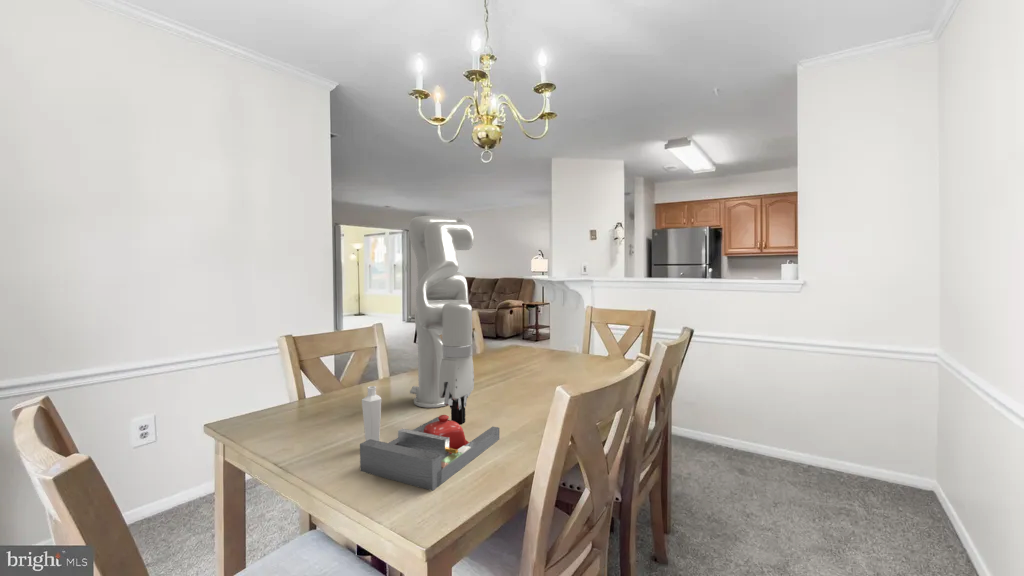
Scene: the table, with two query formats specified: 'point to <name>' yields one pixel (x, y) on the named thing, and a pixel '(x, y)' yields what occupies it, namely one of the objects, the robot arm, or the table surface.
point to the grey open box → (420, 460)
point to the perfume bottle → (372, 414)
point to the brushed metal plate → (425, 442)
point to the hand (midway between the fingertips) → (458, 422)
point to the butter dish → (447, 431)
